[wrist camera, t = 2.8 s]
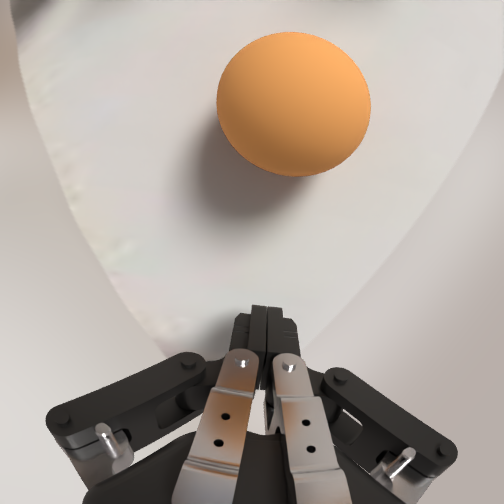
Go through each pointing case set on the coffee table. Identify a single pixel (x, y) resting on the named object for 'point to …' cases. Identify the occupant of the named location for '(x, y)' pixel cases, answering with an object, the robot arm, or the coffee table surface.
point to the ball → (293, 104)
